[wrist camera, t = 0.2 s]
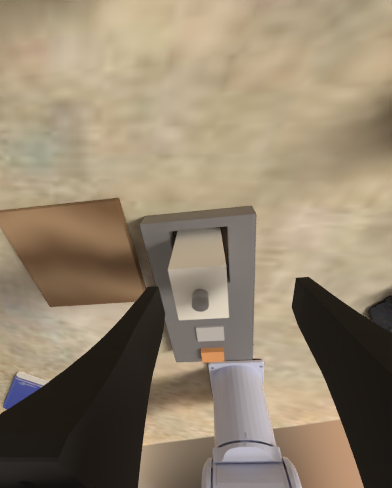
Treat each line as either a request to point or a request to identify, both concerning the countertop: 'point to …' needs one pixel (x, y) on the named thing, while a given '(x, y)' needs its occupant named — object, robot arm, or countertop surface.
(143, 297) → the robot arm
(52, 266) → the coaster
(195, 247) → the block
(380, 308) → the dark slate chunk
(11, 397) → the hard drive
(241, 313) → the power strip
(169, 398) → the countertop surface
